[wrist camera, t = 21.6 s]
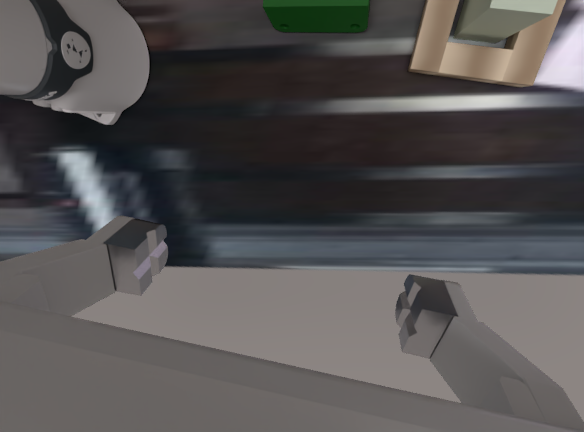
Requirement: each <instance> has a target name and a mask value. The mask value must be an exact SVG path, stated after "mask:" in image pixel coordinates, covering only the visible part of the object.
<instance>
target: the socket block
mask: <svg viewBox="0 0 584 432" xmlns="http://www.w3.org/2000/svg"><path fill="white" fill-rule="evenodd" d="M565 1H566V0H558V1H557V3H556V6H555V9H554V11H553V14H552V15H550V16H548V17H546V18H544V19H542V20H540V21H538V22H536V23H534V24H532V25H530V26H528V27H527V28H525V29H523V30H521V31H519V32H517V33H515V34H513V35H511V36H509V37H508V39H507V41H506V44H505V47H504V49H501V48H492V47H484V46H476V45H468V44H460V43H452V42H447V41H448V38H449V34H450V31H451V27H452V24H453V20H454V17H455V13H456V10H457V7H458V3H459V0H426V1H425V5H424V9H423V13H422V17H421V21H420V25H419V29H418V33H417V37H416V41H415V44H414V48H413V52H412V56H411V60H410V64H409V68H408V72H415V73H422V74H430V75H437V76H444V77H451V78H458V79H465V80H472V81H479V82H486V83H494V84H501V85H508V86H515V87H526V86H533V83H534V81H535V78H536V76H537V73H538V70H539V68H540V65H541V63H542V60H543V58H544V55H545V52H546V50H547V47H548V45H549V42H550V40H551V37H552V34H553V32H554V29H555V27H556V24H557V22H558V19H559V17H560V14H561V11H562V9H563V6H564V4H565Z"/></svg>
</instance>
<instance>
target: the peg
mask: <svg viewBox="0 0 584 432" xmlns="http://www.w3.org/2000/svg"><path fill="white" fill-rule="evenodd" d="M557 1H558V0H464V3H463V6H462V10H461V13H460V17H459V20H458V23H457V27H456V30H455V34H454V37H453V38H455V39H464V40H472V41H480V42H488V43H497V42H499V41H501V40H503V39H505V38H507V37H509V36H511V35H513V34H515V33H517V32H519V31H521V30H523V29H525V28H527V27H528V26H530V25H532V24H534V23H536V22H538V21H540V20H542V19H544V18H546V17H548V16H550V15H552V14H553V11H554V9H555V6H556V3H557Z"/></svg>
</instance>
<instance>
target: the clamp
mask: <svg viewBox="0 0 584 432" xmlns="http://www.w3.org/2000/svg"><path fill="white" fill-rule="evenodd" d="M263 8H264V10H265V12H266V14H267V16H268V17H269V19H270V21H271V23H272V25H273V27H274V28H275V29H277V30H279V31H282V32H362V31H364V30H366V29H367V26H368V17H369V9H370V0H263Z"/></svg>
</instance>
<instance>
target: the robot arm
mask: <svg viewBox="0 0 584 432" xmlns="http://www.w3.org/2000/svg"><path fill="white" fill-rule="evenodd" d="M148 77H149V54H148V48H147V45H146V41H145V39H144V36H143V34H142V32H141V30H140V28H139V26H138V25H137V23H136V22H135V20H134V19H133V18H132V17H131V15H130V14H129V13H128V12H127V11H126V10H125V9H123V8H122V6H121V5H120V4H119V3H118V1H117V0H0V95H6V96H8V97H11V98H15V99H25V100H30V101H33V104H35V105H38V106H42V107H51V108H52V109H53V110H56V111H64V112H68V113H79V114H81V115H84V116H86V117H89V118H91V119H93V120H96V121H98V122H100V123H103V124H106V125H113V124H114V123H115V122H116V121H117V120H118V118H119V116H120V115H121V113H122V111H124V110H125V109H126V108H128V107H130V106H131V105H133V104H134V103H135V102H136V101H137V100H138V99H139V98H140V96H141V95H142V93H143V91H144V89H145V87H146V84H147V81H148ZM101 114H102V115H101ZM166 236H167V233H166V227H165V226H164V225H162V224H158V223H153V222H149V221H144V220H140V219H134V218H131V217H126V216H117V217H116V218H114V219H113V220H112V221H110V222H109V223H108V224H107V225H105V226H104V227H103V228H101V229H100V230H99V231H97V232H96V233H95V234H93V235H92V236H91V237H89V238H88V239H87V240H82V239H81V240H77V241H73V242H70V243H66V244H63V245H59V246H55V247H52V248H48V249H45V250H41V251H38V252H34V253H30V254H27V255H23V256H20V257H16V258H12V259H9V260H5V261H2V262H0V432H584V422H583V420H582V418H581V417H580V415H579V414H578V412H577V410H576V409H575V407H574V406H573V404H572V402H571V401H570V399H569V398H568V396H567V394H566V393H565V391H564V390H563V388H562V387H560V386H559V385H558V384H557V383H556V382H554V381H553V380H552V379H551V378H550V377H548V376H547V375H546V374H545V373H543V372H542V371H541V370H540V369H539V368H537V367H536V366H535V365H534V364H532V363H531V362H530V361H529V360H528V359H527V358H525V357H524V356H523V355H522V354H521V353H519V352H518V351H517V350H516V349H515V348H513V347H512V346H511V345H510V344H509V343H507V342H506V341H505V340H504V339H502V338H501V337H500V336H499V335H498V334H496V333H495V332H494V331H493V330H492V329H490V328H489V327H488V326H487V325H485V324H484V323H483V322H479V321H478V320H477V319H476V317H475V314H474V312H473V310H472V308H471V306H470V304H469V302H468V300H467V298H466V296H465V294H464V291H463V290H462V287H461V285H460V284H458V283H455V282H450V281H444V280H436V279H431V278H426V277H421V276H415V275H409V276H408V277H407V278H406V280H405V283H404V286H405V290H406V291H404V292H403V293H401V294H400V295H399V297H398V300H397V304H396V310H395V311H396V312H395V314H396V322H397V324H398V325H399V326H400V327H401V330H400V332H399V339H400V344H401V349H402V352H404V353H408V354H413V355H416V356H421V357H425V358H429V359H430V361H431V362H432V363H433V365H434V366H435V367H436V369H437V370H438V372H439V373H440V374H441V376H442V377H443V378H444V380H445V381H446V382H447V384H448V385H449V386H450V388H451V389H452V390H453V392H454V393H455V394H456V396H457V397H458V398H459V399H460V401H461V403H458V402H453V401H448V400H444V399H440V398H435V397H431V396H426V395H421V394H417V393H412V392H407V391H403V390H399V389H394V388H389V387H385V386H381V385H376V384H372V383H367V382H363V381H358V380H354V379H349V378H345V377H340V376H336V375H331V374H327V373H322V372H318V371H313V370H309V369H305V368H300V367H296V366H291V365H286V364H282V363H278V362H273V361H268V360H264V359H260V358H255V357H251V356H246V355H242V354H237V353H233V352H228V351H224V350H219V349H215V348H210V347H205V346H201V345H196V344H192V343H188V342H183V341H179V340H174V339H170V338H165V337H160V336H156V335H152V334H147V333H142V332H138V331H134V330H129V329H125V328H120V327H115V326H111V325H107V324H102V323H97V322H93V321H89V320H84V319H80V318H75V317H71V316H72V315H74V314H76V313H78V312H80V311H81V310H83V309H85V308H87V307H89V306H91V305H93V304H95V303H96V302H98V301H100V300H102V299H104V298H105V297H108V296H109V295H111V294H113V293H115V291H118V292H124V293H129V294H135V295H140V296H141V295H142V294H143V293H144V292H145V290H146V289H147V288H148V286H149V285H150V284H151V283H152V276H154V275H156V274H158V273H160V272H161V270H162V269H163V268H164V266H165V263H166V261H167V256H168V247H167V245H166V244H165V243H164V241H163V240H164V238H165V237H166Z"/></svg>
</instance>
